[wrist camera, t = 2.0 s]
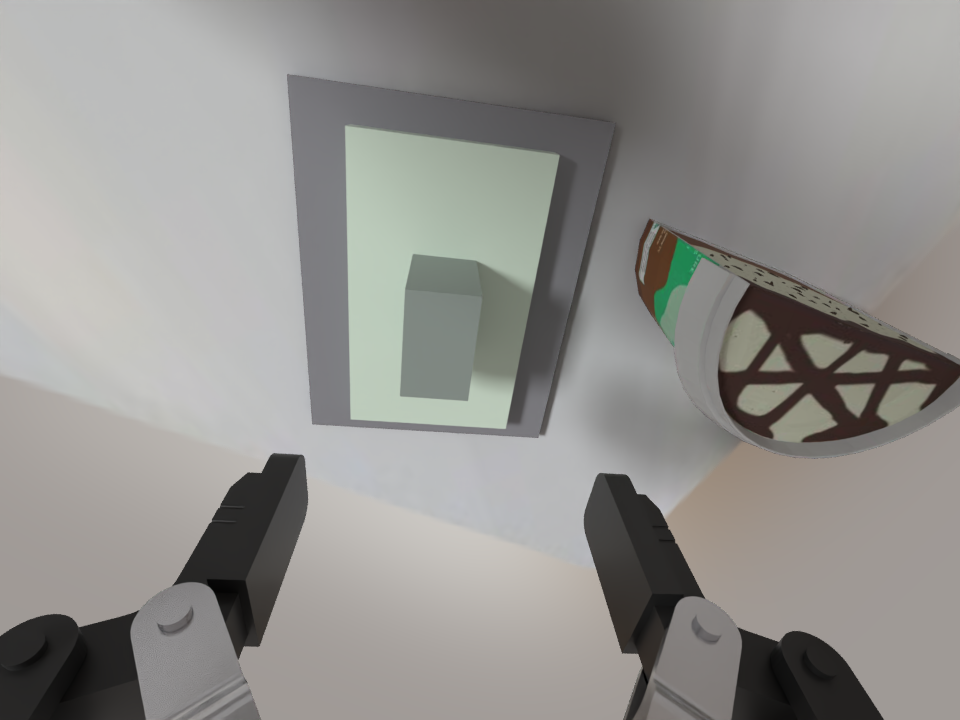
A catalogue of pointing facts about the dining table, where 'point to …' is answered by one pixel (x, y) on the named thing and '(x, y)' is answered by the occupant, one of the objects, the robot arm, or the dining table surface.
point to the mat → (324, 228)
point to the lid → (440, 273)
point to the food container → (787, 353)
